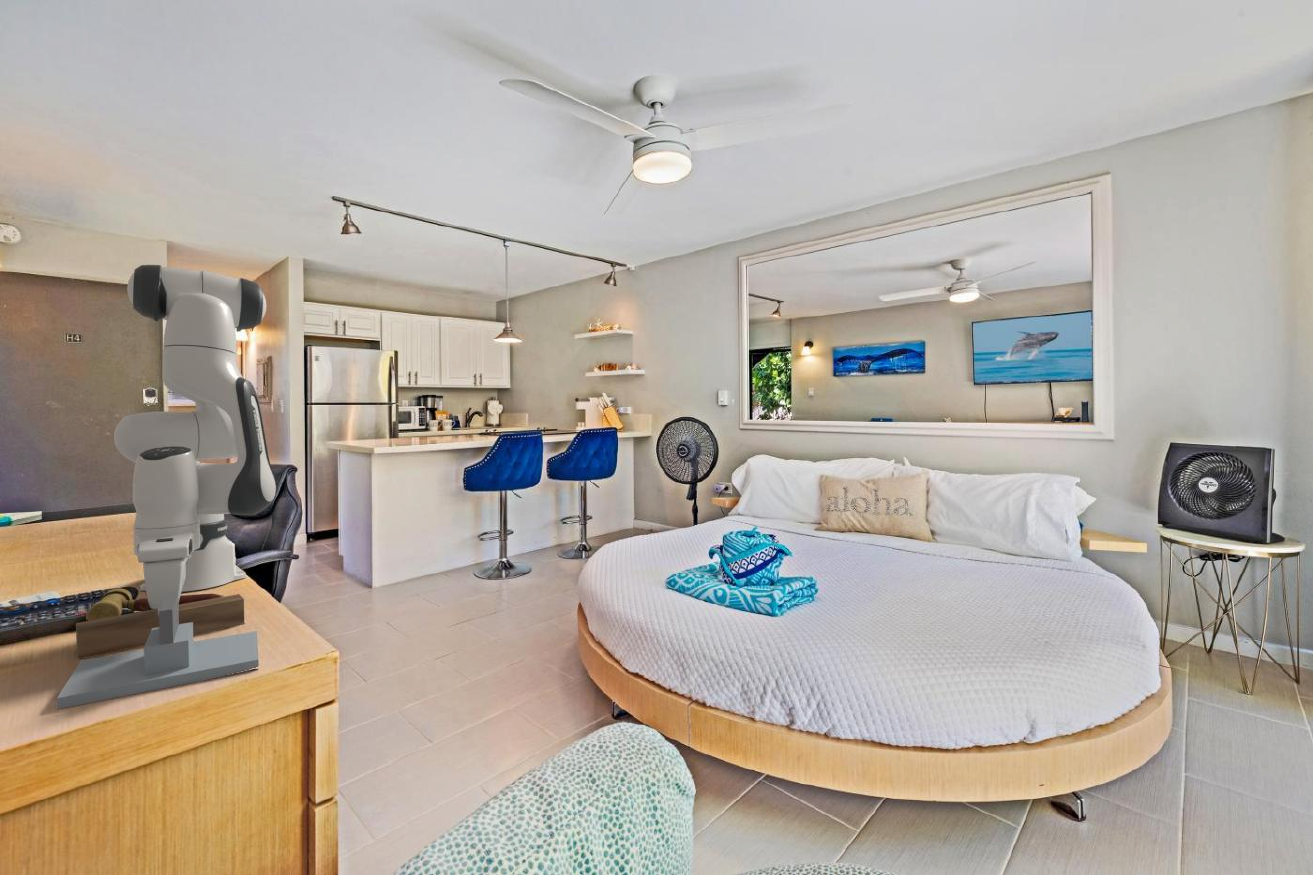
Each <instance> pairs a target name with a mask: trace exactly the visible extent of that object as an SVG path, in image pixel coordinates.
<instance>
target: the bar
mask: <svg viewBox="0 0 1313 875" xmlns="http://www.w3.org/2000/svg"><path fill="white" fill-rule="evenodd" d="M191 622H193V636H194V635H198V634H203V633H208V632H213V631H217V630H222V629H227V628H232V627H237V626H241V625H240V624H242V623H244V624H245V599H244V598H243V597H242V595H240V594H239V593H237V594H231V595H226V596H225V595H224V597H220V598H214V599H209V600H203V601H197V602H192V603H186V604H181V605H179V624H184V623H191ZM236 625H237V626H236ZM242 625H243V624H242ZM158 627H159V614H158V609H153V610H147V611H135V612H131V613H130V612H129V613H126V614H121V615H119V616H114V617H108V618H102V619H97V620H91V621H87V620H86V621H81V622H76V623H75V632H76V634H75V636H76V637H75V638H76V639H75V640H76V655H77V660H82V659H85V658H89V657H94V656H99V655H104V654H109V653H114V652H118V651H123V650H128V649H132V648H137V647H142V646H143V647H144V646H145V644H146V642H147V639H148V637H149V635H150V632H151V630H152V628H158Z"/></svg>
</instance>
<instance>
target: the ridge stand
mask: <svg viewBox="0 0 1313 875" xmlns="http://www.w3.org/2000/svg"><path fill="white" fill-rule="evenodd" d="M258 644H259V643H258V631H257V630H255V631H254V630H253V631H250V632H244V633H237V634H231V635H227V636H220V637H219V636H218V637H214V638H208V639H201V640H196V641H194V635H193V622H191V623H184V624H179V605H178V593H177V594H169V595H166V596H165V598H164V601H163V603H162V605H161V608H160V610H159V627H158V628H152V630H151V632H150V635H149V637H148V639H147V642H146V644H145V645H143V650H137V651H130V652H125V653H119V654H111V655H106V656H101V657H96V658H95V657H94V658H88V659H83V660H82V659H81V660H80V662H79V663H78V665H77V666H76V668H75V669H74V671H73V672H72V674H71V676H70V677H69V679H68V680H67V681H66V683H65V685H64V686H63V688H62V690H61V691H60V693H59V694H58V696H57V697H56V709H57V710H61V709H65V708H71V707H75V706H79V705H86V704H92V703H97V702H101V701H105V700H111V699H116V698H121V697H126V696H131V695H135V694H137V695H138V694H140V693H145V692H150V691H156V690H162V689H166V688H167V689H168V688H170V687H171V688H172V687H176V686H181V685H185V684H190V683H191V684H192V683H196V681H197V682H201V680H202V681H206V680H211V679H214V678H216V677H217V678H221V676H222V677H225V675H227V676H229V675H228V674H232V673H237V672H241V671H245V670H249V669H252V668H256V667H258V666H260V664H259V647H258V646H259V645H258ZM237 674H238V673H237ZM232 675H233V674H232Z"/></svg>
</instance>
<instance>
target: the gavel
mask: <svg viewBox="0 0 1313 875" xmlns="http://www.w3.org/2000/svg"><path fill="white" fill-rule="evenodd" d="M220 597H225V595H223V594H216V593H214V592H213V593H198V594H197V593H196V594H188V595H186V594H185V595H184V594H181V596H180V599H179V605H181V604H186V603H192V602H197V601H203V600H209V599H214V598H220ZM122 608H128V609H131V610H132V611H131V612H141V611H147V610H153V609H152V608H150V605H149V602H148V598H147V597H143V598H138V599H133V596H132V593H131V592H130V591H129V590H127V589H124V588H113V589H110V590H108V591H107V592H105V593H104V594H103V595H102V596H101V598H100V599H99V601H97V602H96V603H94V604H93V605H92V606H91V607H90V608H89V609H88V610H87V612H86V614H85V618H86V619H85V620H86V621H87V620H88V621H91V620H97V619H102V618H108V617H114V616H119V615H122V613H123V612H122ZM157 609H158V608H157Z"/></svg>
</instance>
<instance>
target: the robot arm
mask: <svg viewBox="0 0 1313 875" xmlns="http://www.w3.org/2000/svg"><path fill="white" fill-rule="evenodd" d="M133 271H134V272H133V273H132V274H131V275H130V277H129V280H128V282H127V288H126V289H127V296H128V299H129V301H130V303H131V304H132V308H133V310H135V311H136V312H137V313H138V314H140V316H143V317H145V318H147V319H148V318H149V319H150V320H151V319H152V320H153V321H154V322H157V323H158V322H159V320H165V321H166V322H165V323H166V324H165V327H164V335H163V346H162V347H163V348H162V377H161V378H162V382H163V384H164V386H165V387H166V388H167V389H168V390H169V391H171V392H172V393H174V394H176V395H177V396H180V397H182V398H185V399H188V400H190V401H192V402H194V404H195V410H194V411H193V410H192V411H160V410H159V411H154V410H153V411H147V412H140V413H135V414H128V415H126V416H125V417H123V418H122V419H121V420H120V421H119V422H118V423H117V425H116V427H115V429H114V433H113V440H114V441H113V442H114V445H115V447H116V449H117V451H118V452H119V454H121V455H122V456H123V457H124V458H126V459H127V460H129V461H131V462H133V463H135V464H134V468H133V477H132V504H133V506H134V508H135V514H136V515H135V518H134V522H133V554H134V555H135V556H137V562H138V563H142V570H143V578H144V582H143V583H142V584H141V585H140V586H139V591H143V592H145V591H146V598H148V602H149V605H150V608H152V609H157V608H158V614H159V610H160V608H161V605H162V603H163V601H164V598H165V596H166V595H169V594H177V593H178V605H179V599H180V596H182V593H183V592H192V591H200V590H204V589H205V590H206V589H211V588H215V587H218V586H222V585H225V584H229V583H230V582H233V581H237V580H241V579H244V578H246V577H247V576H246V575H247V574H246V572H245V571H244V570H243V569H241V568H240V567H239V566H238V565H236V563H237V557H236V551H235V550H236V549H235V546H236V545H235V543H233V542H232V540H230V539H229V538H228V537H227V536H226V535H227V534H228V523H227V519H226V518H225V515H228V514H229V515H238V516H256V515H257V514H260V513H261V512H262V511H264V510H265V509H266V508H268V507H269V506H270V505H271V504H272V502H274V500H275V498H276V494H277V485H276V484H277V483H276V478H275V475H274V471H273V468H272V465H271V461H270V457H269V453H268V446H267V440H266V434H265V429H264V422H263V417H262V413H261V412H262V411H261V406H260V402H259V401H260V400H259V397H258V395H257V391H256V389H255V387H254V384H253V383H252V382H251V381H250V380H247V379H246V378H244V377H243V375H242V373H241V372H240V370H239V367H238V362H237V335H236V332H237V333H238V332H241V331H243V330H244V331H245V330H250V329H254V328H256V327H258V326H259V325H261V323H262V320H263V319H264V317H265V315H266V312H267V306H268V305H267V300H266V296H265V294H264V290H263V288H262V287H261V286H260V284H258V283H257V282H255V281H253V280H249V279H246V278H242V277H241V278H237V277H235V276H229V275H227V274H223V273H217V272H212V271H208V270H196V269H188V268H179V267H169V266H168V267H166V266H164V267H163V266H161V264H142V265H139V266H138V267H136V268H134V270H133ZM233 458H234V459H235V458H237V460H236V462H221V463H220V462H213V463H211V462H209V463H208V462H201V461H207V460H212V461H213V460H229V459H233ZM243 574H244V575H245V576H244V575H243Z"/></svg>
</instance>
